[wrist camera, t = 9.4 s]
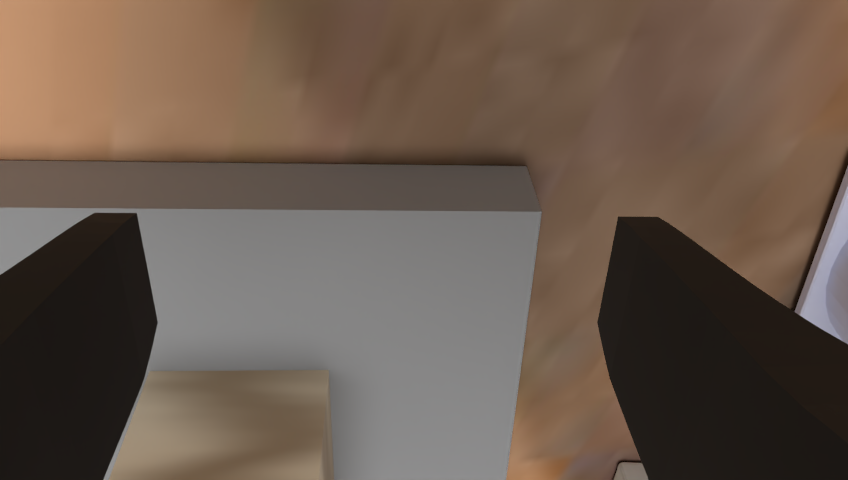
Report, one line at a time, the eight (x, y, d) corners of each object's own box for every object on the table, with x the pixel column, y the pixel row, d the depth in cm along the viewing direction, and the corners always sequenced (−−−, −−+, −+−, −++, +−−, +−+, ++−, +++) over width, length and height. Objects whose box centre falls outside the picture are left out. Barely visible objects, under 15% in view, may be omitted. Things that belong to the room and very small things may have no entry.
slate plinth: (526, 165, 22) (541, 212, 20) (483, 533, 30) (490, 592, 28) (-68, 159, 21) (-119, 206, 19) (62, 539, 29) (37, 601, 27)
